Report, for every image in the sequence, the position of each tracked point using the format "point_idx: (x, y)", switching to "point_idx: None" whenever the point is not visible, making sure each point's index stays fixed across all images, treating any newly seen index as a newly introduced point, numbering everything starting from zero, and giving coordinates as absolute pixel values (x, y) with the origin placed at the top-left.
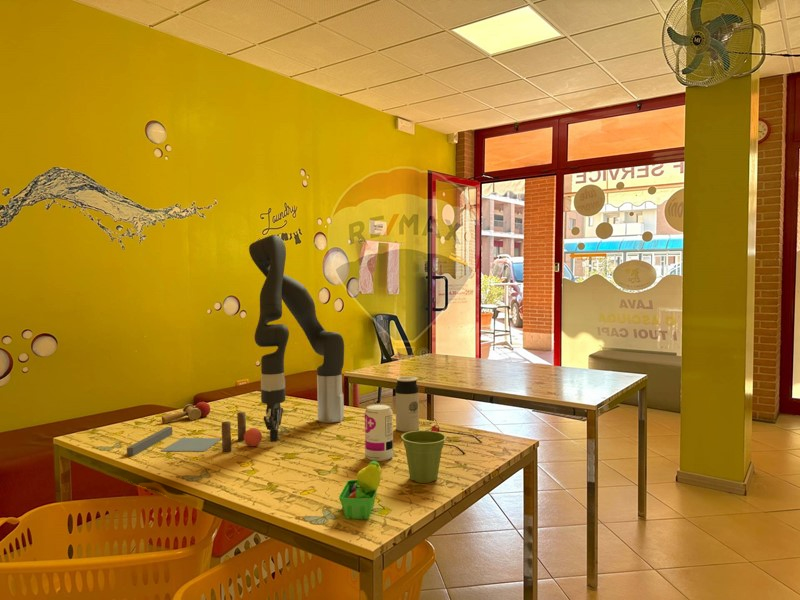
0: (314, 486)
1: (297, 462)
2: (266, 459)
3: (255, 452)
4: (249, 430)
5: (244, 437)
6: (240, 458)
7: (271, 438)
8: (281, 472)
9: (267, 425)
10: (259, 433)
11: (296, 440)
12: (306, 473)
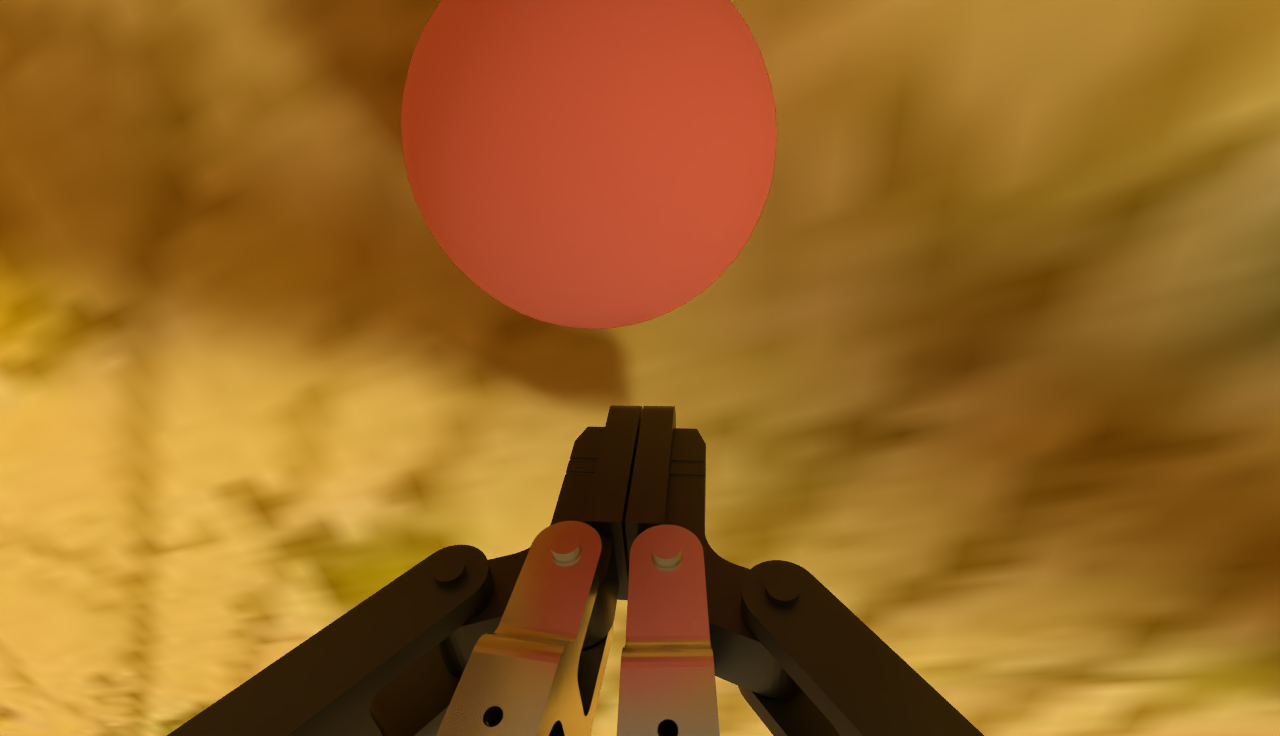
0: (15, 718)
1: (271, 631)
2: (211, 438)
3: (354, 262)
4: (457, 151)
5: (437, 6)
6: (74, 161)
7: (575, 454)
8: (49, 585)
9: (330, 652)
10: (560, 325)
11: (871, 547)
12: (132, 683)
